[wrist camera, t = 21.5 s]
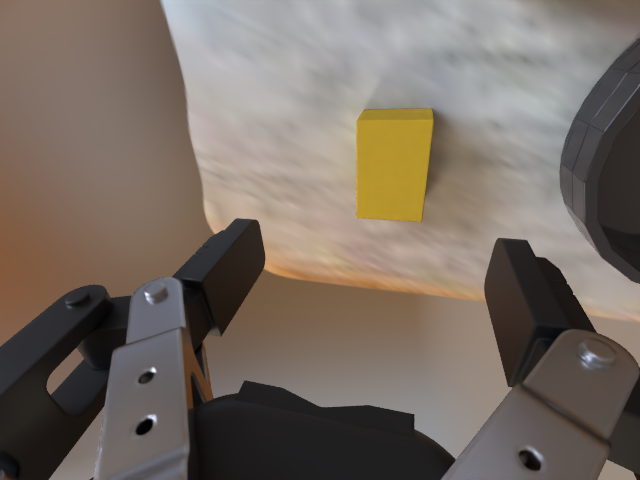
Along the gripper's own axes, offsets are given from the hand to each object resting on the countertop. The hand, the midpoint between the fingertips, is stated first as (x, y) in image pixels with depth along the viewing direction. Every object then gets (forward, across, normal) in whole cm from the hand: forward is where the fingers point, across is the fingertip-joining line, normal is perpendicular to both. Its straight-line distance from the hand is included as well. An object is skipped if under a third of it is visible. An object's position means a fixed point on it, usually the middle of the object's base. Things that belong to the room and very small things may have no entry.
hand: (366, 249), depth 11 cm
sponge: (+12, 0, +1) cm, 12 cm away
